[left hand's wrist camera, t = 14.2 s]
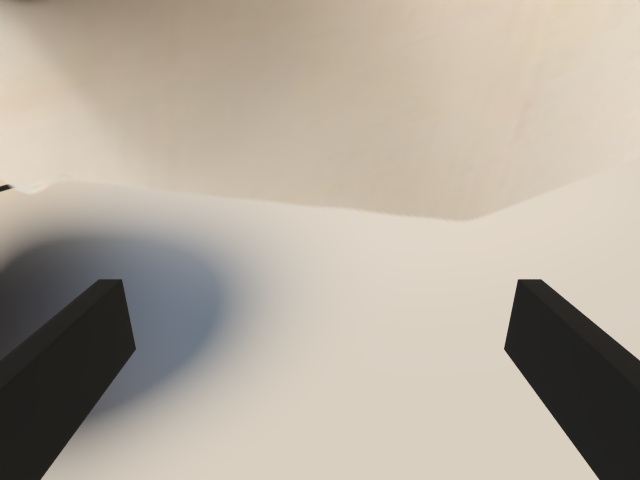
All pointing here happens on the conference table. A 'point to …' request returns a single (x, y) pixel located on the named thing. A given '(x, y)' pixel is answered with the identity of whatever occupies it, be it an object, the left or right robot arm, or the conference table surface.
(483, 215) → the conference table surface
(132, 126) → the conference table surface
